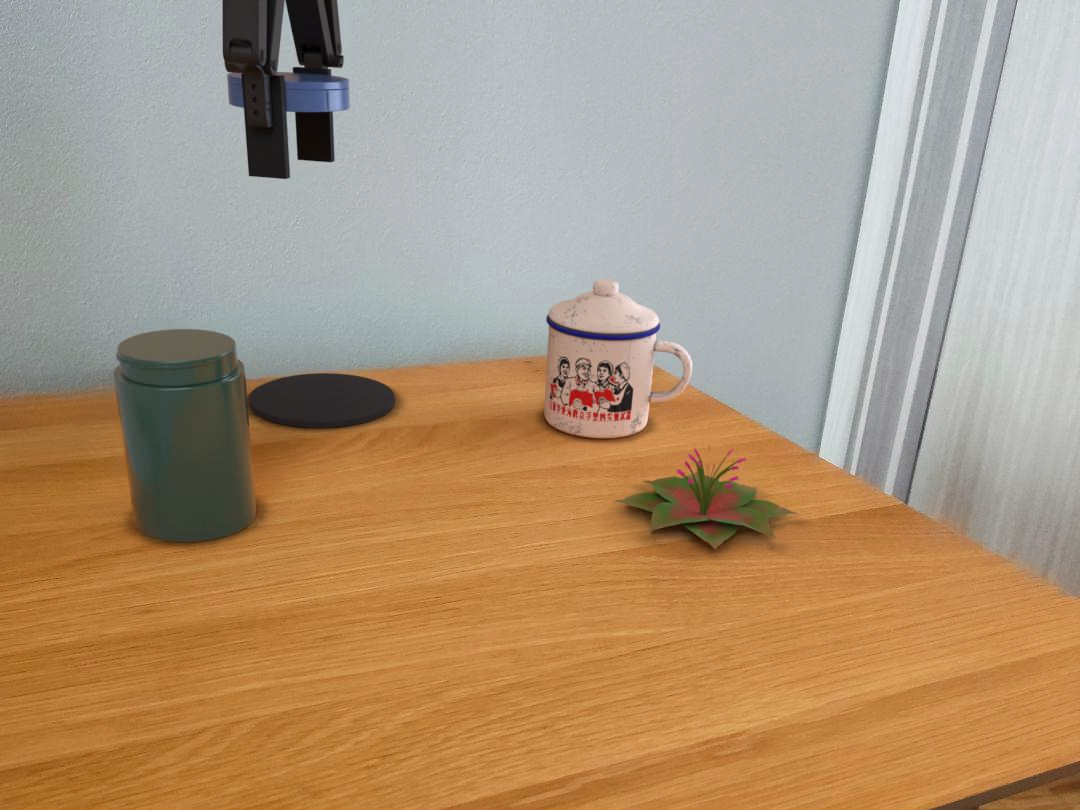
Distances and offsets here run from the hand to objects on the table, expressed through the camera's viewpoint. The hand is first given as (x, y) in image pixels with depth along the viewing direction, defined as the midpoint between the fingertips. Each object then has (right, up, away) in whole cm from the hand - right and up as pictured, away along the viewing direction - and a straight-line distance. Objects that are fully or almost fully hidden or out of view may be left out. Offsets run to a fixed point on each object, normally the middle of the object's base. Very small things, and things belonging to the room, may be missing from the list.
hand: (294, 168), depth 77 cm
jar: (-4, -26, -8) cm, 27 cm away
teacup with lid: (+24, -18, +11) cm, 32 cm away
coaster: (0, -16, +12) cm, 20 cm away
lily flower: (+29, -26, -4) cm, 39 cm away
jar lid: (0, +5, -3) cm, 6 cm away
